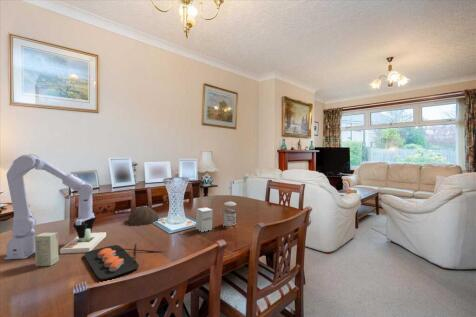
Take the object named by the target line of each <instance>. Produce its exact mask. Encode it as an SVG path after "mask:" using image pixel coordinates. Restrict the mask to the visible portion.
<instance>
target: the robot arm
mask: <svg viewBox="0 0 476 317" xmlns="http://www.w3.org/2000/svg"><path fill="white" fill-rule="evenodd" d="M33 169H34V170H40V171H46V172H47V173H49V174H51V175H53V176H55V177H56V178H58V179H60V180H61V181H62V184H63V185H64V186H67V187H68V188H70V189H72V190H73V191H75V192H77V193H78V196H79V197H78V211H77V212H78V213H77V214H78V217H77V219H76V220H75V223H73V224H72V225H73V228H74V229H75V231H76V233H77V236H78V237H79V238H84V236H85V230H86V229H91V232H92V231H93V226H94V224H95V221H96V220H97V217H96V216H95V213H94V212H93V192H94V190H93V189H94V187H93V185H92V183H90V182H87V180H83V179H81V178H79V177H78V174H76V173H75V174H74V173H66V172H65V171H63V170H62V169H60V168H58V167H57V166H56V165H54V164H52V163H51V162H49V161H48V160H46V159H45V158H42V157H39V156H38V155H36V154H30V153H29V154H22V155H20V156H18V157H17V158H15V159H14V160H13V161H12V164H11V165H10V167H9V169H8V171H7V173H6V180H7V185H8V190H9V195H10V201H11V205H12V210H13V219H12V223H13V224H12V227H11V233H12V238H11V239H10V240H8V242H7V243H6V257H4V258H3V259H4V260H18V259H27V258H28V257H30V256H32V255H33V254H35V236H36V230H35V229H34V227H36V224H37V220H36V218H35V217H34V216H33V214H32V211H31V210H30V205H29V201H28V196H27V195H28V194H27V190H26V184H25V179H24V176H25V175H26V174H27V173H29V171H31V170H33Z"/></svg>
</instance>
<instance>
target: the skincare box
mask: <svg viewBox="0 0 476 317" xmlns="http://www.w3.org/2000/svg"><path fill="white" fill-rule="evenodd" d="M34 254H35V267H47V266H48V267H51V266H53V265H55V264H56V263H58V262H59V260H60V259H59V232H42V233H39V234H37V235H35V253H34Z"/></svg>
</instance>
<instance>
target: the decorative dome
mask: <svg viewBox="0 0 476 317" xmlns="http://www.w3.org/2000/svg"><path fill="white" fill-rule="evenodd" d="M158 219H159V220H160V216H159V214H157V211H155V210H154V209H153V208H151V207H148V206H140V207H137V208H136V209H134V210H132V211H131V213H130V214H129V215H128V219H127V221H126V223H127V224H129V225H130V226H137V225H138V227H140V226H141V225H142V226H150V225H149V224H151V225H152V223H153V222H155V221H159V220H158ZM153 224H154V223H153Z"/></svg>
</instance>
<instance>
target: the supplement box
mask: <svg viewBox="0 0 476 317" xmlns="http://www.w3.org/2000/svg"><path fill="white" fill-rule="evenodd" d="M195 213H196V216H195V217H196V218H195V230H197V229H198V230H199V231H198V230H197V231H198V232H200V231H201V232H200V233H204V231H205V232H208V230H209V231H213V209H212V208H209V207H200V208H196V212H195Z"/></svg>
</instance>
